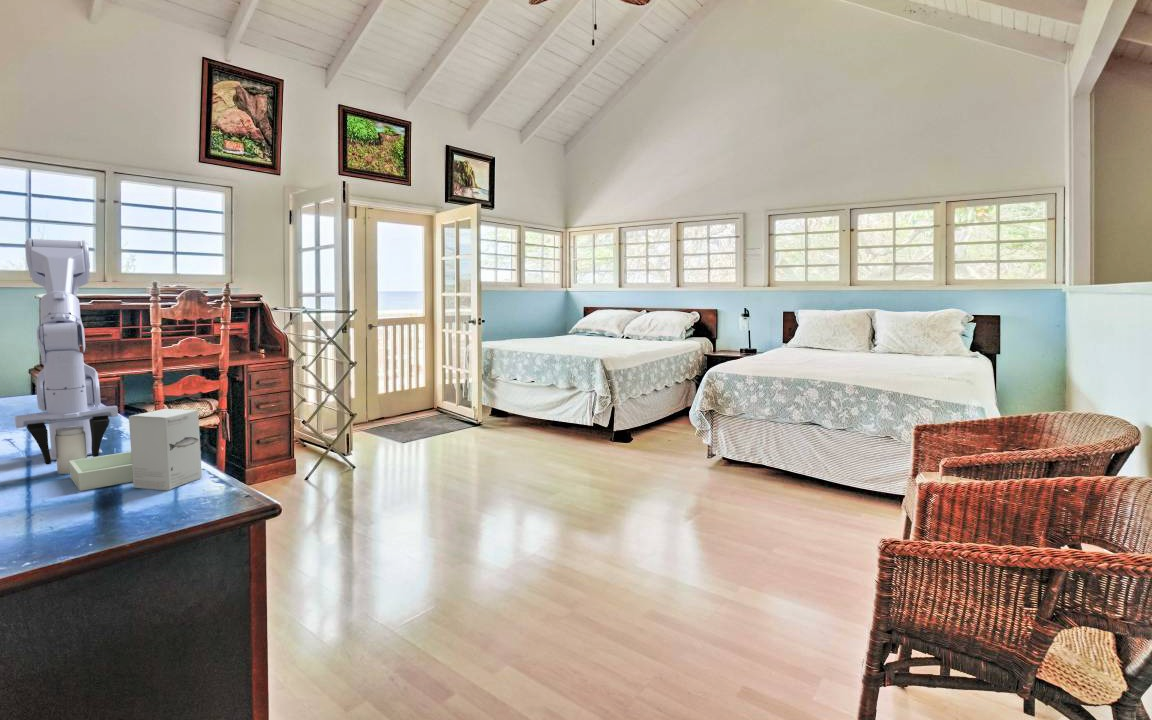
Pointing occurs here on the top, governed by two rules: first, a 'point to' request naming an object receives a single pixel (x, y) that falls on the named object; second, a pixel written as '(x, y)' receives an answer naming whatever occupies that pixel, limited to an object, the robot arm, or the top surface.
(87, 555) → the top surface
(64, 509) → the top surface
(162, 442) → the supplement box
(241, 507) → the top surface
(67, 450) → the shaker
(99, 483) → the tray
